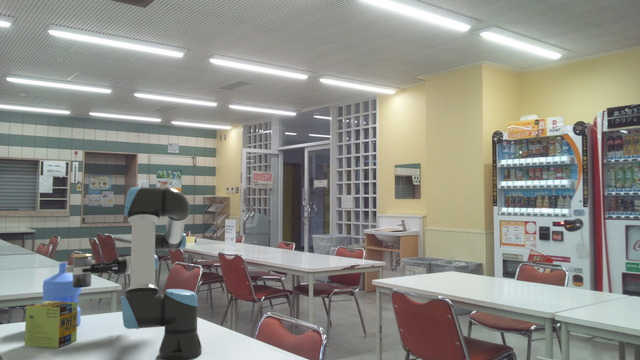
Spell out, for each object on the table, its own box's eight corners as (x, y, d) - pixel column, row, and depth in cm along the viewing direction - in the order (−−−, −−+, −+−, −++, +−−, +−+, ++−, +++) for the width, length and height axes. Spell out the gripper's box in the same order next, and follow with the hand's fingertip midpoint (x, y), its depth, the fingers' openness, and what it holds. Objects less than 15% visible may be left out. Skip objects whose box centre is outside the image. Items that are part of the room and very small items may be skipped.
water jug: (32, 328, 217) (35, 264, 219) (61, 320, 232) (63, 261, 234) (61, 331, 213) (63, 266, 214) (88, 323, 228) (90, 262, 229)
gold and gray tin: (94, 286, 205) (95, 254, 206) (76, 288, 200) (77, 256, 201) (86, 284, 210) (87, 253, 211) (69, 286, 205) (70, 254, 206)
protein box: (58, 348, 188) (59, 307, 189) (24, 345, 191) (25, 305, 192) (77, 341, 199) (78, 302, 199) (44, 338, 202) (45, 300, 202)
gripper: (134, 276, 212) (79, 282, 195) (113, 271, 225) (59, 277, 208) (135, 258, 212) (80, 263, 195) (113, 255, 226) (60, 259, 209)
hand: (69, 270), depth 202 cm, fingers closed on gold and gray tin, 7 cm apart
